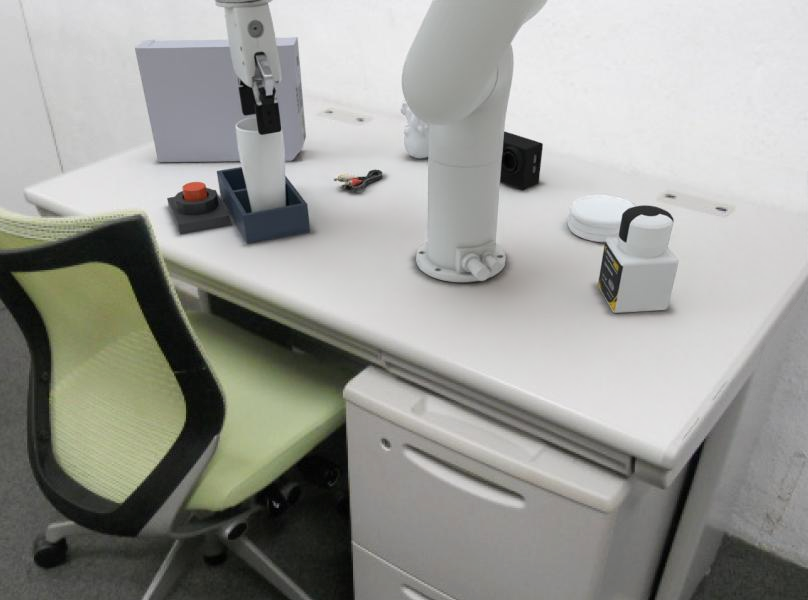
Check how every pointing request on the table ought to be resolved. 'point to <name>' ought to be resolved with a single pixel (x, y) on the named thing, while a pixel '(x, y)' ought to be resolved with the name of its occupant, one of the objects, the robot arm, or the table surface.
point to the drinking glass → (262, 165)
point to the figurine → (415, 134)
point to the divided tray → (266, 221)
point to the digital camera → (520, 161)
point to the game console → (210, 99)
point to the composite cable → (358, 180)
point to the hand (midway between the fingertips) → (261, 122)
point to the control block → (198, 212)
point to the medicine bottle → (639, 262)
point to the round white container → (597, 216)
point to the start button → (194, 191)
